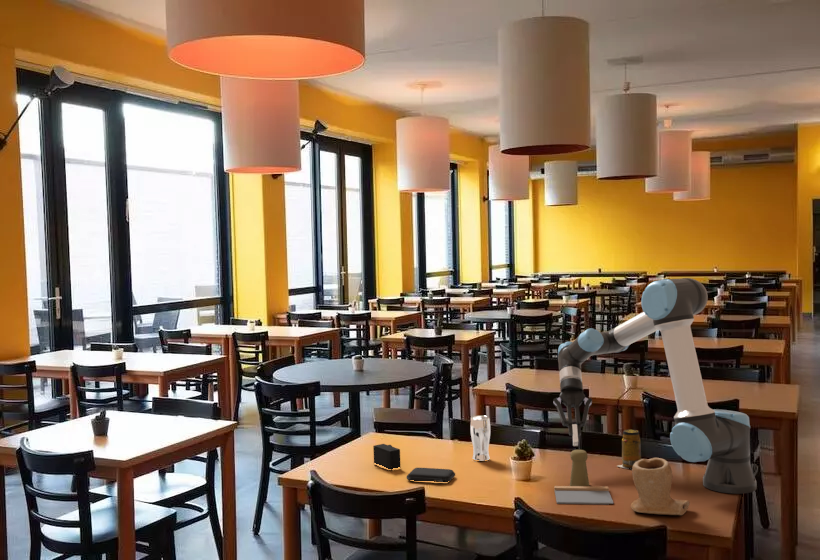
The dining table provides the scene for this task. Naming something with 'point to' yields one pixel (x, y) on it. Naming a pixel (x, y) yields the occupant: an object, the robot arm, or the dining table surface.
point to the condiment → (630, 448)
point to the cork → (579, 468)
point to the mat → (582, 495)
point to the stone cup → (655, 488)
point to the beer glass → (480, 437)
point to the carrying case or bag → (431, 474)
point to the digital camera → (387, 456)
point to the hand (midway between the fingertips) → (575, 443)
